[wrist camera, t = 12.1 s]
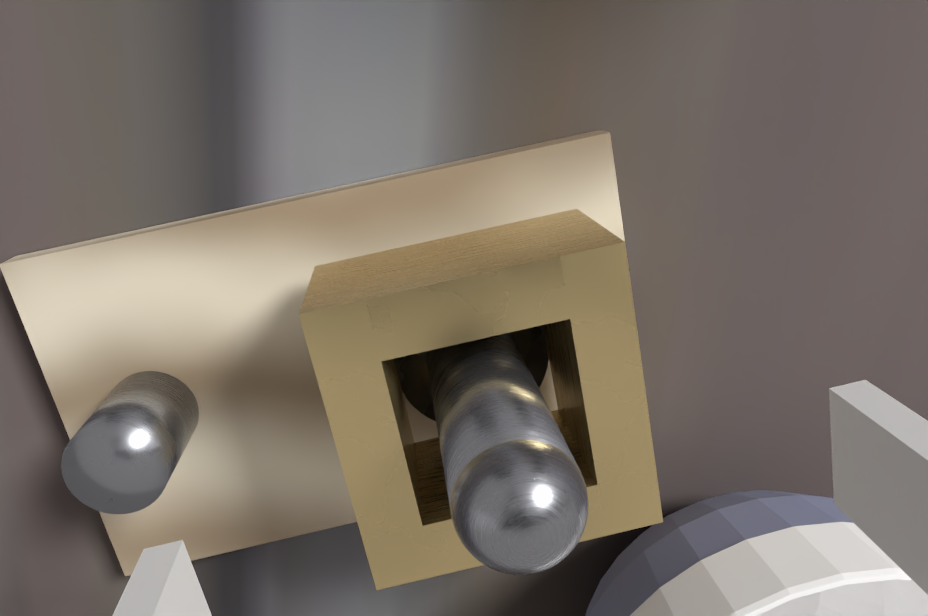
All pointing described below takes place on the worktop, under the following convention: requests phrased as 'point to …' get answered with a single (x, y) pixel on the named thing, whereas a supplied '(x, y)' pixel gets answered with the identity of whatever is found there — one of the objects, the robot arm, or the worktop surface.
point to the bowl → (756, 564)
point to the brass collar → (467, 319)
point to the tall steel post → (500, 449)
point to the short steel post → (131, 443)
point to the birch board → (264, 329)
